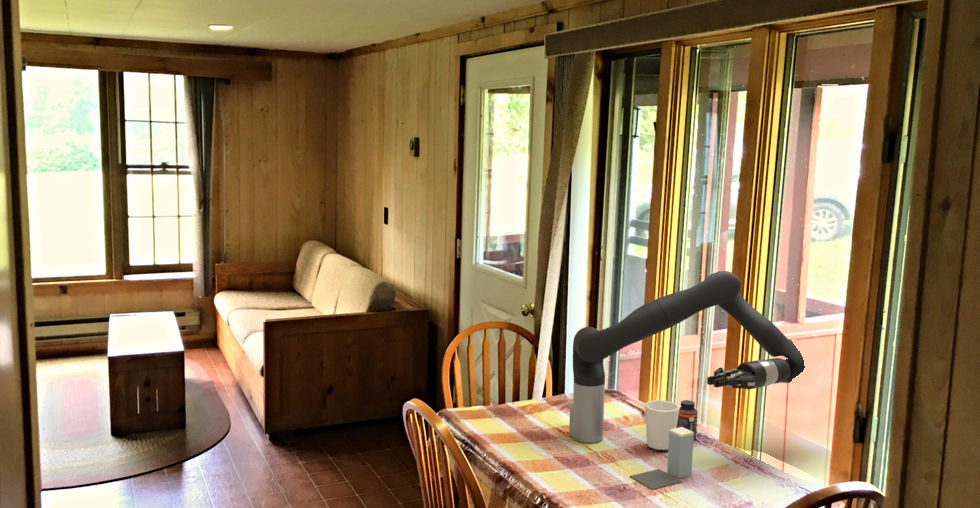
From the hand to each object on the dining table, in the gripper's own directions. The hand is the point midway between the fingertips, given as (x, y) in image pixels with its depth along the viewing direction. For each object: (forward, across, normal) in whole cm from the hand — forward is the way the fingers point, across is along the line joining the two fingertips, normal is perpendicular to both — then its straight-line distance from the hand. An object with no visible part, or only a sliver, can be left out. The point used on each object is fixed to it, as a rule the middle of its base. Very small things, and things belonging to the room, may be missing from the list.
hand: (711, 382), depth 220 cm
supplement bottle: (-10, -19, +24) cm, 32 cm away
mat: (+18, 0, +24) cm, 30 cm away
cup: (+2, -17, +24) cm, 29 cm away
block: (+10, 0, +24) cm, 26 cm away
